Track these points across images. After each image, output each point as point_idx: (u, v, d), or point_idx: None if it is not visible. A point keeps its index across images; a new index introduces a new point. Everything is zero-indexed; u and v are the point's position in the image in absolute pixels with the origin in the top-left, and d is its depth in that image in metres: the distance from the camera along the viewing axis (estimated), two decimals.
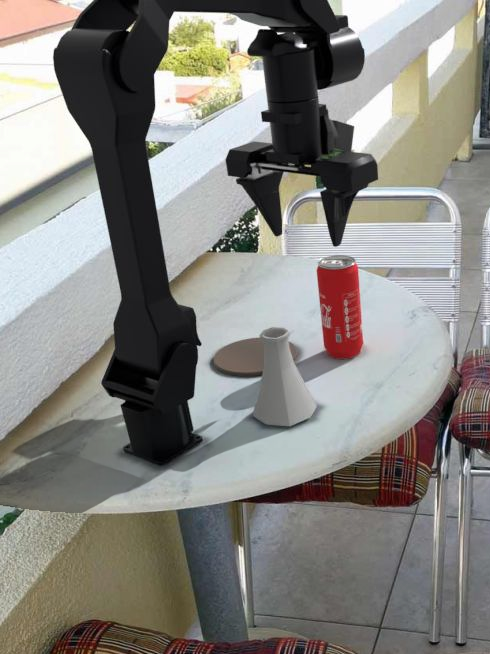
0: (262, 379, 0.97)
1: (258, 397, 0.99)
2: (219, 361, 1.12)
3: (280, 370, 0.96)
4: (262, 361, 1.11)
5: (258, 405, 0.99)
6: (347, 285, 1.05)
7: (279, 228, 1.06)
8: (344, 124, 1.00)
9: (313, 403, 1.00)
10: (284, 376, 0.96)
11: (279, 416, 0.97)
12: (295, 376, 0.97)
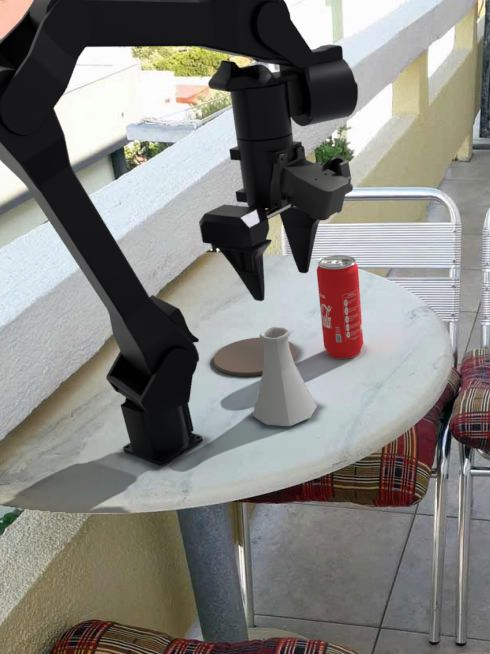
0: (262, 379, 0.97)
1: (258, 397, 0.99)
2: (219, 361, 1.12)
3: (280, 370, 0.96)
4: (262, 361, 1.11)
5: (258, 405, 0.99)
6: (347, 285, 1.05)
7: (302, 265, 0.99)
8: (305, 183, 0.85)
9: (313, 403, 1.00)
10: (284, 376, 0.96)
11: (279, 416, 0.97)
12: (295, 376, 0.97)
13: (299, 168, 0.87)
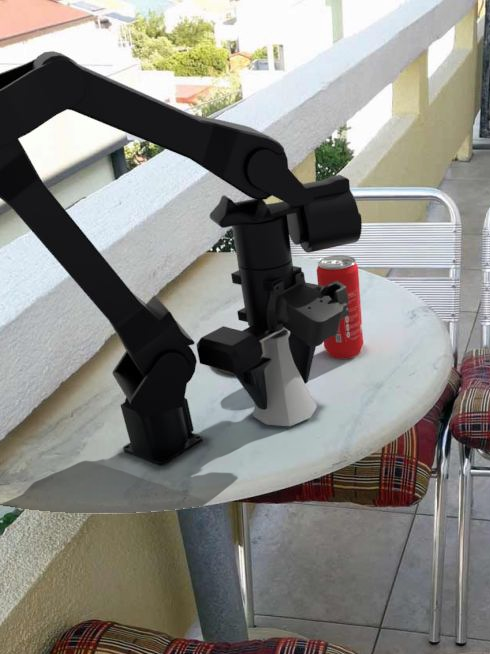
0: None
1: None
2: None
3: (280, 370, 0.96)
4: None
5: None
6: (347, 285, 1.05)
7: (301, 376, 1.01)
8: (298, 312, 0.88)
9: (313, 403, 1.00)
10: (284, 376, 0.96)
11: (279, 416, 0.97)
12: (295, 377, 0.97)
13: (295, 295, 0.89)
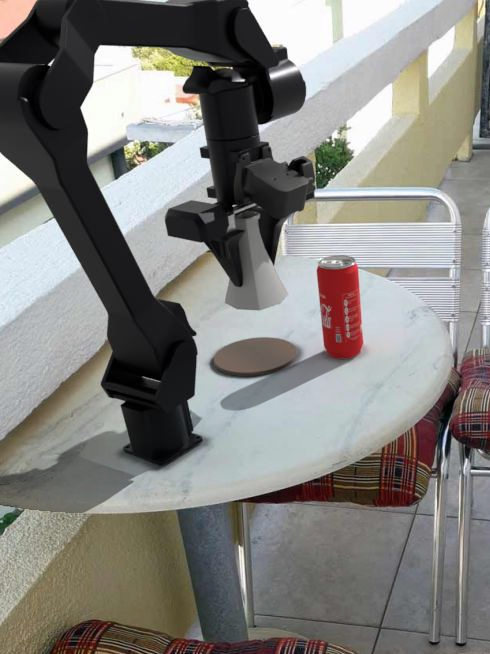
0: None
1: (229, 283, 1.00)
2: (219, 361, 1.12)
3: (249, 252, 0.97)
4: (262, 361, 1.11)
5: (229, 290, 1.01)
6: (347, 285, 1.05)
7: None
8: (263, 182, 0.89)
9: (284, 291, 1.02)
10: (254, 259, 0.98)
11: (250, 300, 0.99)
12: (266, 261, 0.99)
13: (262, 167, 0.91)
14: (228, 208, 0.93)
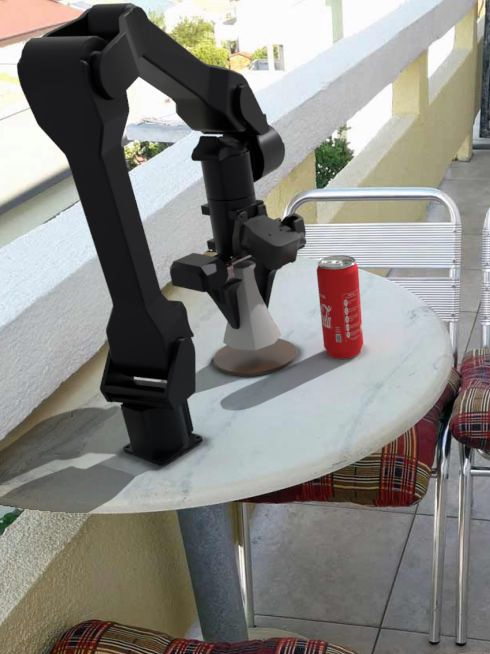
0: None
1: (227, 325, 1.10)
2: (219, 361, 1.12)
3: (246, 298, 1.07)
4: (262, 361, 1.11)
5: (227, 332, 1.10)
6: (347, 285, 1.05)
7: None
8: (259, 238, 0.99)
9: (277, 331, 1.11)
10: (250, 304, 1.07)
11: (246, 341, 1.09)
12: (261, 305, 1.08)
13: (258, 224, 1.00)
14: (227, 259, 1.03)
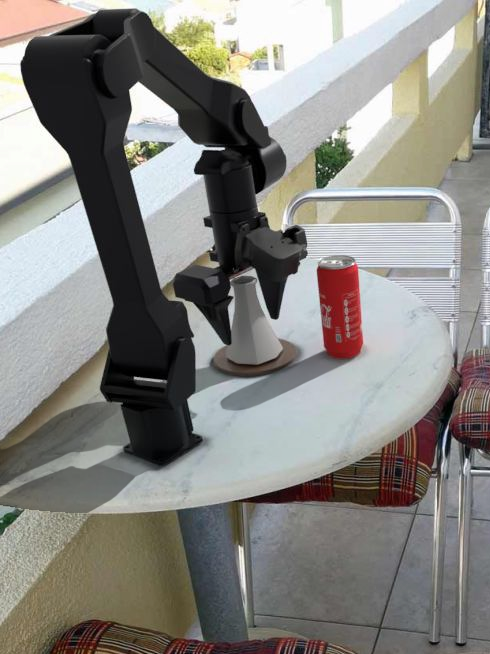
0: (233, 322, 1.10)
1: None
2: (219, 361, 1.12)
3: (248, 313, 1.08)
4: None
5: (230, 346, 1.11)
6: (347, 285, 1.05)
7: (273, 313, 1.13)
8: (261, 250, 1.00)
9: (279, 345, 1.13)
10: (252, 319, 1.08)
11: (248, 355, 1.10)
12: (262, 320, 1.09)
13: (260, 236, 1.01)
14: None
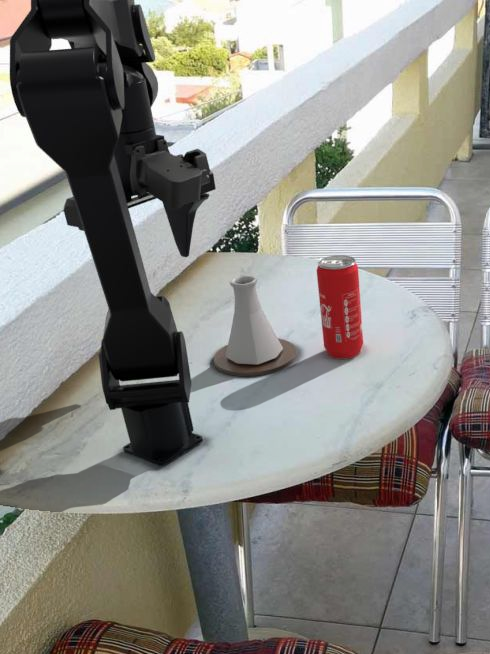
0: (233, 322, 1.10)
1: (230, 339, 1.11)
2: (219, 361, 1.12)
3: (248, 313, 1.08)
4: None
5: (230, 346, 1.11)
6: (347, 285, 1.05)
7: (182, 249, 1.07)
8: (156, 174, 0.93)
9: (279, 345, 1.13)
10: (252, 319, 1.08)
11: (248, 355, 1.10)
12: (262, 320, 1.09)
13: (156, 159, 0.95)
14: None
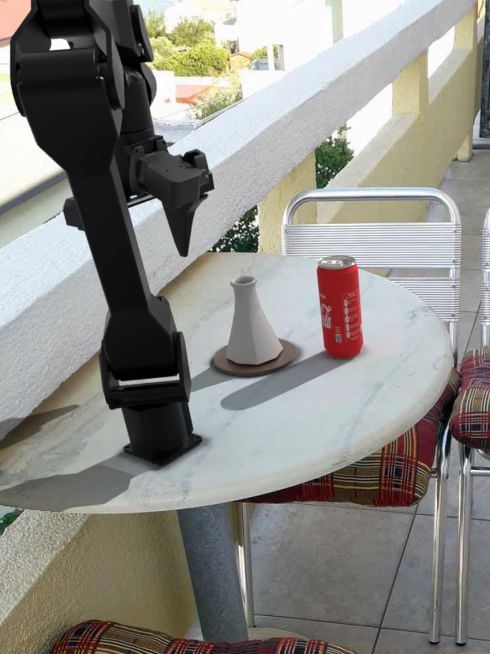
0: (233, 322, 1.10)
1: (230, 339, 1.11)
2: (219, 361, 1.12)
3: (248, 313, 1.08)
4: None
5: (230, 346, 1.11)
6: (347, 285, 1.05)
7: (181, 249, 1.07)
8: (156, 174, 0.93)
9: (279, 345, 1.13)
10: (252, 319, 1.08)
11: (248, 355, 1.10)
12: (262, 320, 1.09)
13: (156, 159, 0.95)
14: None
